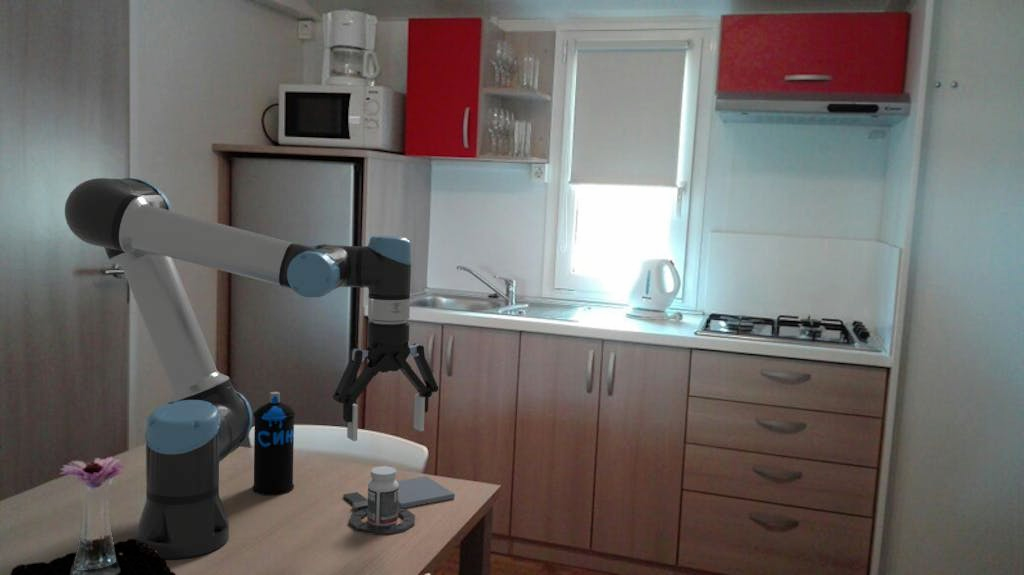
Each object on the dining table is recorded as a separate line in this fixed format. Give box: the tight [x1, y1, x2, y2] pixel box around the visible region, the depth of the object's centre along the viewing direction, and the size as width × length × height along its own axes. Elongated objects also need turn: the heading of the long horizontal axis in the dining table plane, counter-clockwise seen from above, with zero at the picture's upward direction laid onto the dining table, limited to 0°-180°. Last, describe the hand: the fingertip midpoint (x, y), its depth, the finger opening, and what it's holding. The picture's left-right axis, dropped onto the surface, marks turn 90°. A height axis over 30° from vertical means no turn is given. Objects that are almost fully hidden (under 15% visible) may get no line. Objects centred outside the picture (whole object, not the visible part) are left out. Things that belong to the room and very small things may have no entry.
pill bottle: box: [366, 465, 399, 527], centre depth 159 cm, size 6×6×10 cm
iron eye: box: [342, 491, 416, 535], centre depth 163 cm, size 12×21×1 cm, turn 34°
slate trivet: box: [396, 475, 456, 509], centre depth 175 cm, size 12×12×1 cm
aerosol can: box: [252, 391, 296, 496], centre depth 173 cm, size 8×8×20 cm
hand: (386, 434), depth 158 cm, fingers open, 13 cm apart
